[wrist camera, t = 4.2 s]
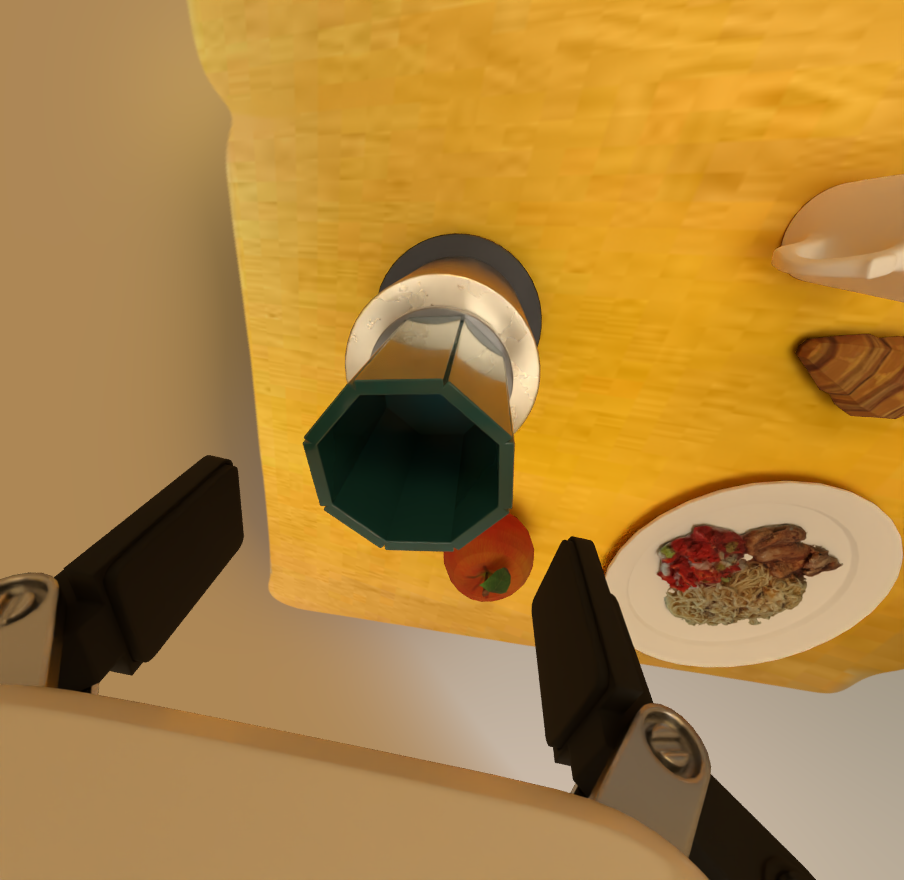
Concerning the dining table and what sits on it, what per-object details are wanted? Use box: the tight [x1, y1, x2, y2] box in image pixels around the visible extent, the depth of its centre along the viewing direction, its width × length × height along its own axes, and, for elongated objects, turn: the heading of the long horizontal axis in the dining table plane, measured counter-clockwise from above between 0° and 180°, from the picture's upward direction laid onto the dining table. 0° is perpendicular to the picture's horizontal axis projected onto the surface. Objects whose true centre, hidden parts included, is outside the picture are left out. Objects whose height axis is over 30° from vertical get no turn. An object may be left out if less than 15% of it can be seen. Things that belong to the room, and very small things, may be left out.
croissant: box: [795, 334, 904, 419], centre depth 29 cm, size 14×7×5 cm, turn 72°
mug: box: [772, 174, 904, 302], centre depth 22 cm, size 10×7×12 cm, turn 104°
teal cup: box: [303, 316, 515, 552], centre depth 17 cm, size 7×7×9 cm
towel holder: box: [345, 233, 542, 433], centre depth 27 cm, size 14×14×14 cm
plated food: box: [605, 481, 903, 667], centre depth 43 cm, size 30×30×3 cm
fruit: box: [444, 513, 534, 602], centre depth 39 cm, size 10×10×10 cm
